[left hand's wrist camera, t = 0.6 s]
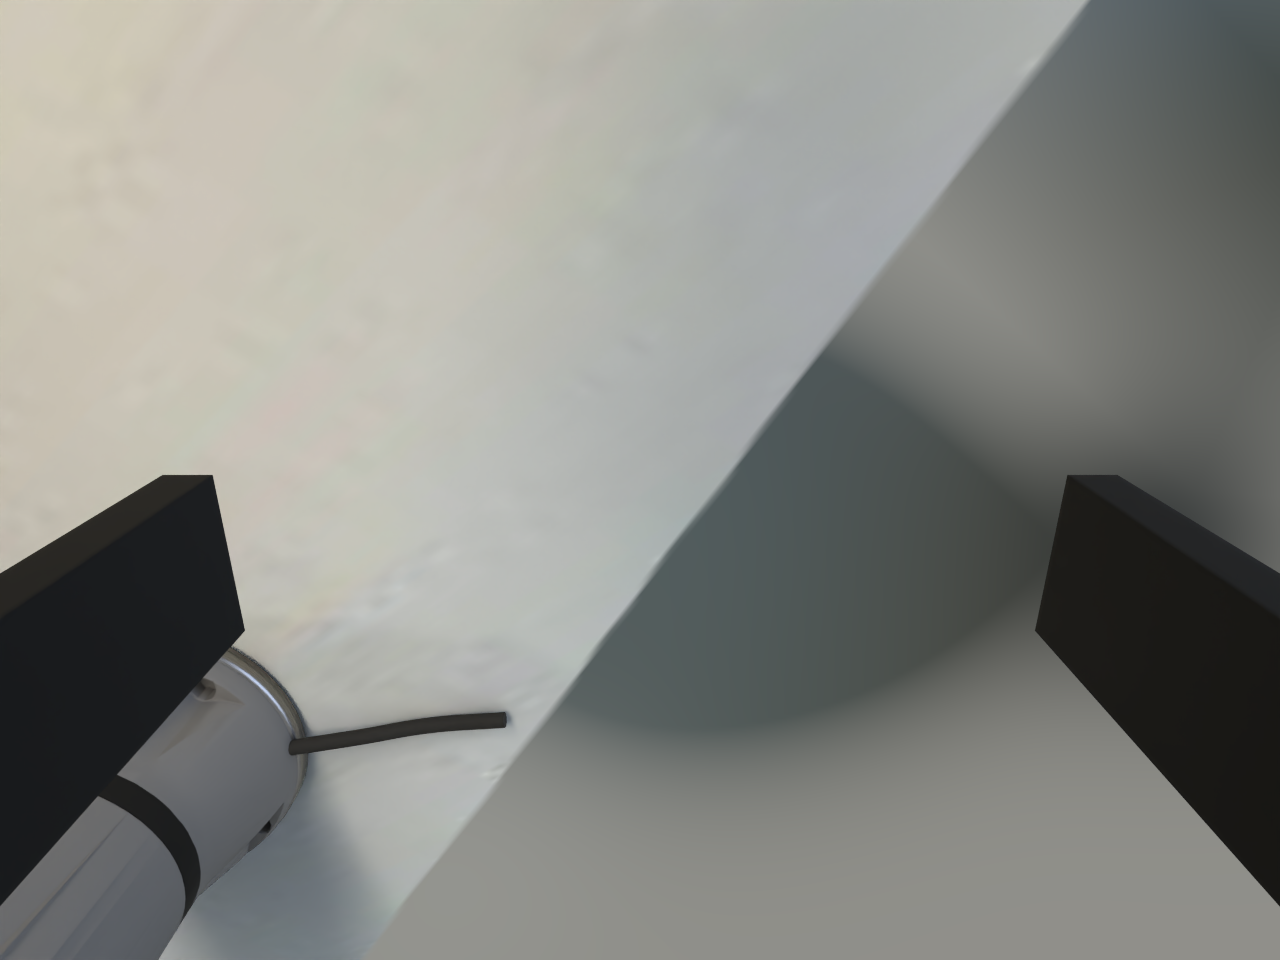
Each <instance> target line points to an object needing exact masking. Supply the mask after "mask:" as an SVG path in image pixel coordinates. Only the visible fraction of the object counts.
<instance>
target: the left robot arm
mask: <svg viewBox="0 0 1280 960" xmlns="http://www.w3.org/2000/svg"><path fill="white" fill-rule="evenodd" d="M244 631H245V629H244V624H243V619H242V614H241V610H240V605H239V600H238V595H237V590H236V586H235V581H234V576H233V571H232V566H231V562H230V557H229V552H228V547H227V542H226V537H225V533H224V528H223V523H222V518H221V513H220V509H219V504H218V499H217V494H216V489H215V485H214V480H213V475H162V476H160V477H159V478H157V479H155V480H154V481H152V482H150V483H149V484H147V485H145V486H144V487H142V488H141V489H139V490H137V491H136V492H134V493H132V494H131V495H129V496H127V497H126V498H124V499H122V500H121V501H119V502H117V503H116V504H114V505H112V506H111V507H109V508H108V509H106V510H104V511H103V512H101V513H99V514H98V515H96V516H94V517H93V518H91V519H89V520H88V521H86V522H84V523H83V524H81V525H80V526H78V527H76V528H75V529H73V530H71V531H70V532H68V533H66V534H65V535H63V536H61V537H60V538H58V539H56V540H55V541H53V542H51V543H50V544H48V545H47V546H45V547H43V548H42V549H40V550H38V551H37V552H35V553H33V554H32V555H30V556H28V557H27V558H25V559H23V560H22V561H20V562H19V563H17V564H15V565H14V566H12V567H10V568H9V569H7V570H5V571H4V572H2V573H0V906H1V905H2V904H3V903H4V901H5V900H6V899H7V898H8V897H9V896H10V895H11V894H12V892H13V891H14V890H15V889H16V888H17V887H18V886H19V885H20V883H21V882H22V881H23V880H24V879H25V878H26V877H27V876H28V874H29V873H30V872H31V871H32V870H33V869H34V868H35V867H36V865H37V864H38V863H39V862H40V861H41V860H42V859H43V858H44V856H45V855H46V854H47V853H48V852H49V851H50V850H51V849H52V847H53V846H54V845H55V844H56V843H57V842H58V841H59V840H60V838H61V837H62V836H63V835H64V834H65V833H66V832H67V831H68V829H69V828H70V827H71V826H72V825H73V824H74V823H75V822H76V820H77V819H78V818H79V817H80V816H81V815H82V814H83V812H84V811H85V810H86V809H87V808H88V807H89V806H90V805H91V803H92V802H93V801H94V800H95V799H96V798H97V797H98V796H99V794H100V793H101V792H102V791H103V790H104V789H105V788H106V787H107V785H108V784H109V783H110V782H111V781H112V780H113V779H114V778H115V776H116V775H117V774H118V773H119V772H120V771H121V770H122V769H123V767H124V766H125V765H126V764H127V763H128V762H129V761H130V760H131V758H132V757H133V756H134V755H135V754H136V753H137V752H138V751H139V749H140V748H141V747H142V746H143V745H144V744H145V743H146V742H147V740H148V739H149V738H150V737H151V736H152V735H153V734H154V733H155V731H156V730H157V729H158V728H159V727H160V726H161V725H162V724H163V722H164V721H165V720H166V719H167V718H168V717H169V716H170V714H171V713H172V712H173V711H174V710H175V709H176V708H177V707H178V705H179V704H180V703H181V702H182V701H183V700H184V699H185V698H186V696H187V695H188V694H189V693H190V692H191V691H192V690H193V689H194V687H195V686H196V685H197V684H198V683H199V682H200V681H201V680H202V678H203V677H204V676H205V675H206V674H207V673H208V672H209V671H210V669H211V668H212V667H213V666H214V665H215V664H216V663H217V662H218V660H219V659H220V658H221V657H222V656H223V655H224V654H225V653H226V651H227V650H228V649H229V648H230V647H231V646H232V645H233V644H234V642H235V641H236V640H237V639H238V638H239V637H240V636H241V635H242V633H243V632H244ZM1035 631H1036V632H1037V633H1038V634H1039V636H1040V637H1041V638H1042V639H1043V640H1044V641H1045V642H1046V644H1047V645H1048V646H1049V647H1050V648H1051V649H1052V650H1053V651H1054V653H1055V654H1056V655H1057V656H1058V657H1059V658H1060V659H1061V660H1062V662H1063V663H1064V664H1065V665H1066V666H1067V667H1068V668H1069V669H1070V671H1071V672H1072V673H1073V674H1074V675H1075V676H1076V677H1077V678H1078V680H1079V681H1080V682H1081V683H1082V684H1083V685H1084V686H1085V687H1086V689H1087V690H1088V691H1089V692H1090V693H1091V694H1092V695H1093V696H1094V698H1095V699H1096V700H1097V701H1098V702H1099V703H1100V704H1101V705H1102V707H1103V708H1104V709H1105V710H1106V711H1107V712H1108V713H1109V714H1110V716H1111V717H1112V718H1113V719H1114V720H1115V721H1116V722H1117V723H1118V725H1119V726H1120V727H1121V728H1122V729H1123V730H1124V731H1125V733H1126V734H1127V735H1128V736H1129V737H1130V738H1131V739H1132V740H1133V742H1134V743H1135V744H1136V745H1137V746H1138V747H1139V748H1140V749H1141V751H1142V752H1143V753H1144V754H1145V755H1146V756H1147V757H1148V758H1149V760H1150V761H1151V762H1152V763H1153V764H1154V765H1155V766H1156V767H1157V769H1158V770H1159V771H1160V772H1161V773H1162V774H1163V775H1164V776H1165V778H1166V779H1167V780H1168V781H1169V782H1170V783H1171V784H1172V785H1173V787H1174V788H1175V789H1176V790H1177V791H1178V792H1179V793H1180V794H1181V796H1182V797H1183V798H1184V799H1185V800H1186V801H1187V802H1188V803H1189V805H1190V806H1191V807H1192V808H1193V809H1194V810H1195V811H1196V812H1197V814H1198V815H1199V816H1200V817H1201V818H1202V819H1203V820H1204V822H1205V823H1206V824H1207V825H1208V826H1209V827H1210V828H1211V829H1212V830H1213V832H1214V833H1215V834H1216V835H1217V836H1218V837H1219V838H1220V840H1221V841H1222V842H1223V843H1224V844H1225V845H1226V846H1227V847H1228V849H1229V850H1230V851H1231V852H1232V853H1233V854H1234V855H1235V856H1236V858H1237V859H1238V860H1239V861H1240V862H1241V863H1242V864H1243V865H1244V867H1245V868H1246V869H1247V870H1248V871H1249V872H1250V873H1251V874H1252V876H1253V877H1254V878H1255V879H1256V880H1257V881H1258V882H1259V883H1260V885H1261V886H1262V887H1263V888H1264V889H1265V890H1266V891H1267V892H1268V894H1269V895H1270V896H1271V897H1272V898H1273V899H1274V900H1275V901H1276V903H1277V904H1278V905H1279V906H1280V573H1278V572H1276V571H1275V570H1273V569H1271V568H1270V567H1268V566H1266V565H1265V564H1263V563H1261V562H1260V561H1258V560H1257V559H1255V558H1253V557H1252V556H1250V555H1248V554H1247V553H1245V552H1243V551H1242V550H1240V549H1238V548H1237V547H1235V546H1233V545H1232V544H1230V543H1229V542H1227V541H1225V540H1223V539H1222V538H1220V537H1219V536H1217V535H1215V534H1214V533H1212V532H1210V531H1209V530H1207V529H1205V528H1204V527H1202V526H1200V525H1199V524H1197V523H1196V522H1194V521H1192V520H1191V519H1189V518H1187V517H1186V516H1184V515H1182V514H1181V513H1179V512H1177V511H1176V510H1174V509H1172V508H1171V507H1169V506H1168V505H1166V504H1164V503H1163V502H1161V501H1159V500H1158V499H1156V498H1154V497H1153V496H1151V495H1149V494H1148V493H1146V492H1144V491H1143V490H1141V489H1139V488H1138V487H1136V486H1135V485H1133V484H1131V483H1130V482H1128V481H1126V480H1125V479H1123V478H1121V477H1120V476H1118V475H1068V476H1067V480H1066V485H1065V489H1064V494H1063V499H1062V504H1061V509H1060V513H1059V518H1058V523H1057V528H1056V533H1055V538H1054V542H1053V547H1052V552H1051V557H1050V562H1049V566H1048V571H1047V576H1046V581H1045V586H1044V590H1043V595H1042V600H1041V605H1040V610H1039V615H1038V619H1037V624H1036V629H1035Z"/></svg>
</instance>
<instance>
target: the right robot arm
mask: <svg viewBox="0 0 1280 960" xmlns="http://www.w3.org/2000/svg"><path fill="white" fill-rule="evenodd" d="M506 723H507V720H506V713H505V712H500V713H484V714H466V715H451V716H440V717H431V718H423V719H416V720H409V721H403V722H398V723H392V724H387V725H381V726H376V727H370V728H365V729H359V730H352V731H346V732H340V733H333V734H327V735H320V736H313V737H307V738H306V736H305V732H304V729H303V726H302V723H301V720H300V718H299V716H298V713H297V712H296V710H295V708H294V706H293V704H292V703H291V701H290V700H289V698H288V697H287V695H286V694H285V693H284V691H283V690H282V689H281V688H280V687H279V685H278V684H277V683H276V682H275V681H274V680H273V679H272V678H271V677H270V676H269V675H268V674H267V673H266V672H265V671H264V670H262V669H261V668H260V667H259V666H258V665H256V664H255V663H254V662H252V661H251V660H250V659H248V658H247V657H245V656H244V655H242V654H240V653H239V652H237V651H235V650H234V649H232V648H229V649H228V650H227V651H226V653H225V654H224V655H223V656H222V657H221V658H220V659H219V660H218V662H217V663H216V664H215V665H214V666H213V667H212V668H211V669H210V671H209V672H208V673H207V674H206V675H205V676H204V677H203V678H202V680H201V681H200V682H199V683H198V684H197V685H196V686H195V687H194V689H193V690H192V691H191V692H190V693H189V694H188V695H187V696H186V698H185V699H184V700H183V701H182V702H181V703H180V704H179V705H178V707H177V708H176V709H175V710H174V711H173V712H172V713H171V714H170V716H169V717H168V718H167V719H166V720H165V721H164V722H163V724H162V725H161V726H160V727H159V728H158V729H157V730H156V731H155V733H154V734H153V735H152V736H151V737H150V738H149V739H148V740H147V742H146V743H145V744H144V745H143V746H142V747H141V748H140V749H139V751H138V752H137V753H136V754H135V755H134V756H133V757H132V758H131V760H130V761H129V762H128V763H127V764H126V765H125V766H124V767H123V769H122V770H121V771H120V772H119V773H118V774H117V775H116V776H115V778H114V779H113V780H112V781H111V782H110V783H109V784H108V785H107V787H106V788H105V789H104V790H103V791H102V792H101V793H100V794H99V796H98V797H97V798H96V799H95V800H94V801H93V802H92V803H91V805H90V806H89V807H88V808H87V809H86V810H85V811H84V812H83V814H82V815H81V816H80V817H79V818H78V819H77V820H76V822H75V823H74V824H73V825H72V826H71V827H70V828H69V829H68V831H67V832H66V833H65V834H64V835H63V836H62V837H61V838H60V840H59V841H58V842H57V843H56V844H55V845H54V846H53V847H52V849H51V850H50V851H49V852H48V853H47V854H46V855H45V856H44V858H43V859H42V860H41V861H40V862H39V863H38V864H37V865H36V867H35V868H34V869H33V870H32V871H31V872H30V873H29V874H28V876H27V877H26V878H25V879H24V880H23V881H22V882H21V883H20V885H19V886H18V887H17V888H16V889H15V890H14V891H13V892H12V894H11V895H10V896H9V897H8V898H7V899H6V900H5V901H4V903H3V904H2V905H1V906H0V960H158V959H159V958H160V956H161V954H162V953H163V951H164V949H165V948H166V946H167V945H168V943H169V941H170V940H171V938H172V937H173V935H174V933H175V932H176V930H177V928H178V927H179V925H180V923H181V922H182V920H183V919H184V917H185V915H186V914H187V912H188V911H189V909H190V908H191V906H192V904H193V903H194V901H195V900H196V898H197V897H198V896H199V895H200V894H201V893H202V892H204V891H205V890H206V889H207V888H208V887H209V886H211V885H212V884H213V883H214V882H215V881H216V880H218V879H219V878H220V877H221V876H222V875H223V874H225V873H226V872H227V871H228V870H229V869H230V868H232V867H233V866H234V865H235V864H236V863H237V862H238V861H239V860H240V859H241V858H242V857H243V856H244V855H245V854H246V853H247V852H249V851H250V850H252V849H253V848H255V847H256V846H257V845H258V844H259V843H261V842H262V841H263V840H264V839H265V838H266V837H267V836H268V835H269V834H270V833H271V832H272V831H273V830H274V829H275V827H276V826H277V825H278V823H279V822H280V821H281V820H282V819H283V817H284V816H285V815H286V813H287V812H288V810H289V808H290V807H291V805H292V803H293V801H294V800H295V798H296V796H297V794H298V792H299V790H300V788H301V786H302V784H303V781H304V778H305V775H306V769H307V761H308V753H312V752H318V751H325V750H331V749H338V748H344V747H350V746H357V745H363V744H369V743H374V742H380V741H385V740H390V739H396V738H401V737H407V736H413V735H420V734H427V733H435V732H445V731H458V730H475V729H493V728H505V727H506Z"/></svg>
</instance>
